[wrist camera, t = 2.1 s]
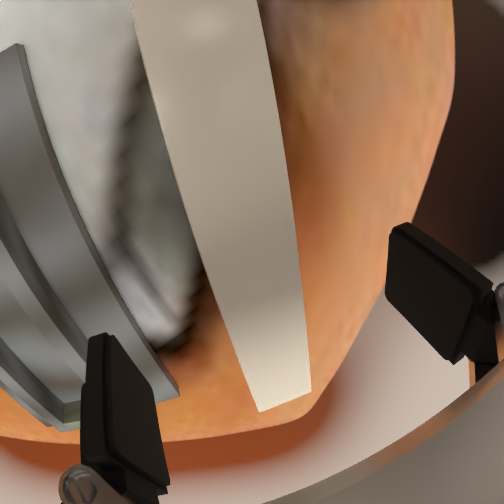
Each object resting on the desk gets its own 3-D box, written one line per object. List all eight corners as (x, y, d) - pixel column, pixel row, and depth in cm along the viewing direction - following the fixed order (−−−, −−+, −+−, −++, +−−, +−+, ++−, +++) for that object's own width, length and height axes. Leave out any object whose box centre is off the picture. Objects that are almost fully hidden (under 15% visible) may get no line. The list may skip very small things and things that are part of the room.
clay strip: (136, 36, 11) (128, -9, 5) (198, 20, 12) (249, -30, 5) (221, 316, 22) (259, 412, 15) (261, 301, 22) (311, 391, 16)
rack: (-125, 169, 7) (-150, 186, 5) (23, 45, 9) (-2, 40, 7) (47, 418, 22) (46, 444, 19) (178, 386, 24) (184, 416, 22)
